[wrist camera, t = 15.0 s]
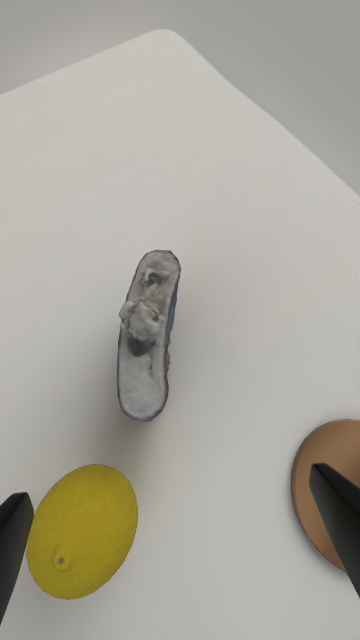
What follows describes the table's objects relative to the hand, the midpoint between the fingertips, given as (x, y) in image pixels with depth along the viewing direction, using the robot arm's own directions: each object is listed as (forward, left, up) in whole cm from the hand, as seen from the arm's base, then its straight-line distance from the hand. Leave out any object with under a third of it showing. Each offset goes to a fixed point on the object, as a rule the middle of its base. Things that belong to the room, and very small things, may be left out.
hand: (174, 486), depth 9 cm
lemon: (+2, +6, -13) cm, 14 cm away
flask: (+4, -5, -13) cm, 14 cm away
